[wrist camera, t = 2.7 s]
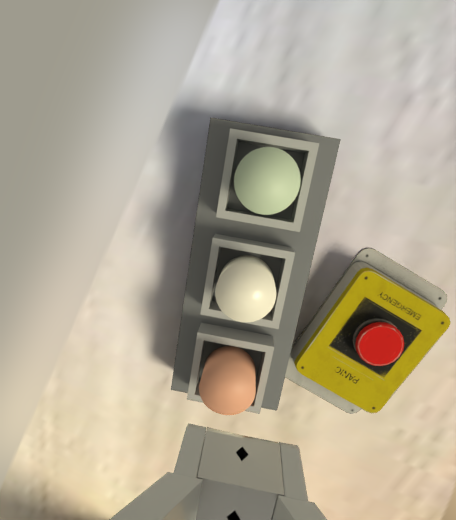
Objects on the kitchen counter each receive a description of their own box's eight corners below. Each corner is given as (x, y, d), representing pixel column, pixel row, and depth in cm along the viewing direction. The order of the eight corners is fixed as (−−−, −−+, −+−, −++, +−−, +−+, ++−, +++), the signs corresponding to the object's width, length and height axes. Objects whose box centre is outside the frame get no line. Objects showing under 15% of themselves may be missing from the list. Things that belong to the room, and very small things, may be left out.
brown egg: (250, 396, 30) (249, 419, 27) (201, 386, 30) (195, 409, 27) (259, 351, 29) (260, 370, 26) (208, 341, 29) (203, 359, 26)
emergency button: (479, 311, 27) (366, 445, 30) (448, 293, 31) (352, 413, 35) (380, 252, 26) (277, 394, 30) (363, 242, 31) (274, 368, 34)
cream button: (268, 312, 28) (269, 327, 25) (215, 302, 28) (210, 316, 25) (278, 260, 27) (281, 270, 24) (224, 250, 27) (220, 259, 24)
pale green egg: (288, 215, 26) (292, 220, 23) (231, 205, 26) (229, 208, 23) (300, 156, 25) (307, 153, 22) (241, 146, 25) (240, 141, 22)
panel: (275, 391, 34) (278, 425, 29) (177, 372, 35) (165, 403, 30) (331, 143, 29) (347, 135, 24) (215, 124, 29) (207, 112, 24)
